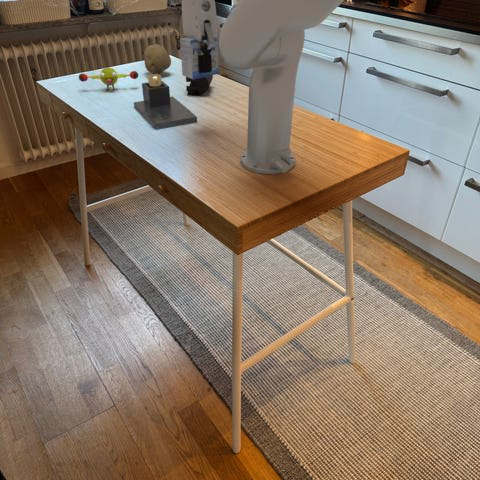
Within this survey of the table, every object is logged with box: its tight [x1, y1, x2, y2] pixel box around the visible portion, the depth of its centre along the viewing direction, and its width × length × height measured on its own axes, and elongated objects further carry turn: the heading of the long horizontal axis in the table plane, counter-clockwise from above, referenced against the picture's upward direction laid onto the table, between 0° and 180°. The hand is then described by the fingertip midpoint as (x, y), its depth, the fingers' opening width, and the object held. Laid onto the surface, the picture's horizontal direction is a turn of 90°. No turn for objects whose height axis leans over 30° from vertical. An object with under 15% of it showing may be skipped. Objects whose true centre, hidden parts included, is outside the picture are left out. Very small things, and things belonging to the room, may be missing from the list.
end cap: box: [185, 75, 214, 97], centre depth 140 cm, size 10×7×7 cm
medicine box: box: [179, 36, 219, 79], centre depth 107 cm, size 8×4×9 cm, turn 128°
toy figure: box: [78, 67, 139, 92], centre depth 140 cm, size 18×6×7 cm, turn 103°
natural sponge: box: [143, 43, 172, 75], centre depth 153 cm, size 9×9×10 cm
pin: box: [147, 73, 163, 88], centre depth 126 cm, size 4×4×5 cm
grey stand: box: [133, 80, 198, 130], centre depth 124 cm, size 18×12×6 cm, turn 28°
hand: (200, 68), depth 108 cm, fingers closed on medicine box, 5 cm apart
